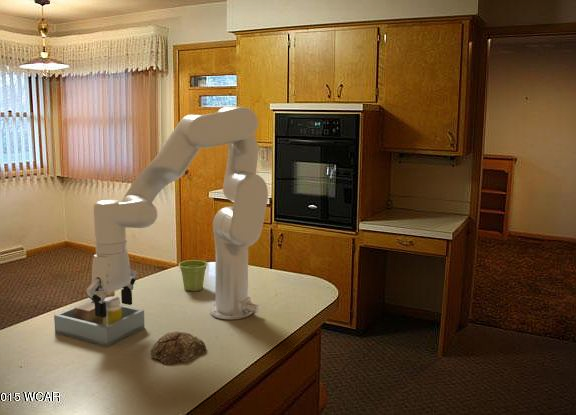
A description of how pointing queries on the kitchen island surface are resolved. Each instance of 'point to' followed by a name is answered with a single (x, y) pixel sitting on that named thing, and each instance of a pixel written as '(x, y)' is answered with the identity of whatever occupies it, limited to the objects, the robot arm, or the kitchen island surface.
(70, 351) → the kitchen island surface
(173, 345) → the bread roll
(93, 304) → the walnut block
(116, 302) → the supplement bottle
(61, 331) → the tote
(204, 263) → the plant pot
